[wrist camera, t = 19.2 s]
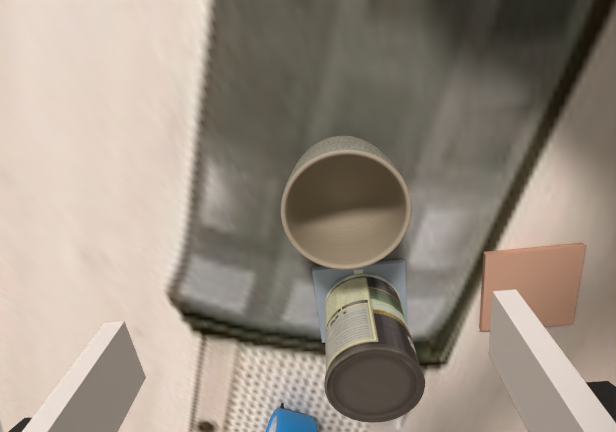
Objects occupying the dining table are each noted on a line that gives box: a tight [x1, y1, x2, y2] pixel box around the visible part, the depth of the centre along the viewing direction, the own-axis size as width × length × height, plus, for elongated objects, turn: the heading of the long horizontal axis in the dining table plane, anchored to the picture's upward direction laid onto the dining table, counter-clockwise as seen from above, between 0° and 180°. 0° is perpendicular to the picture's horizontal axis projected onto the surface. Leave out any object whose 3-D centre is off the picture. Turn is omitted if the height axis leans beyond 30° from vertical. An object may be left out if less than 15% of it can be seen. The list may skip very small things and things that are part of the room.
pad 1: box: [312, 259, 407, 343], centre depth 55 cm, size 12×12×1 cm
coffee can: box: [324, 273, 425, 422], centre depth 48 cm, size 10×10×14 cm
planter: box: [281, 136, 411, 269], centre depth 44 cm, size 12×12×11 cm
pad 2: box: [480, 243, 586, 331], centre depth 53 cm, size 12×12×1 cm
